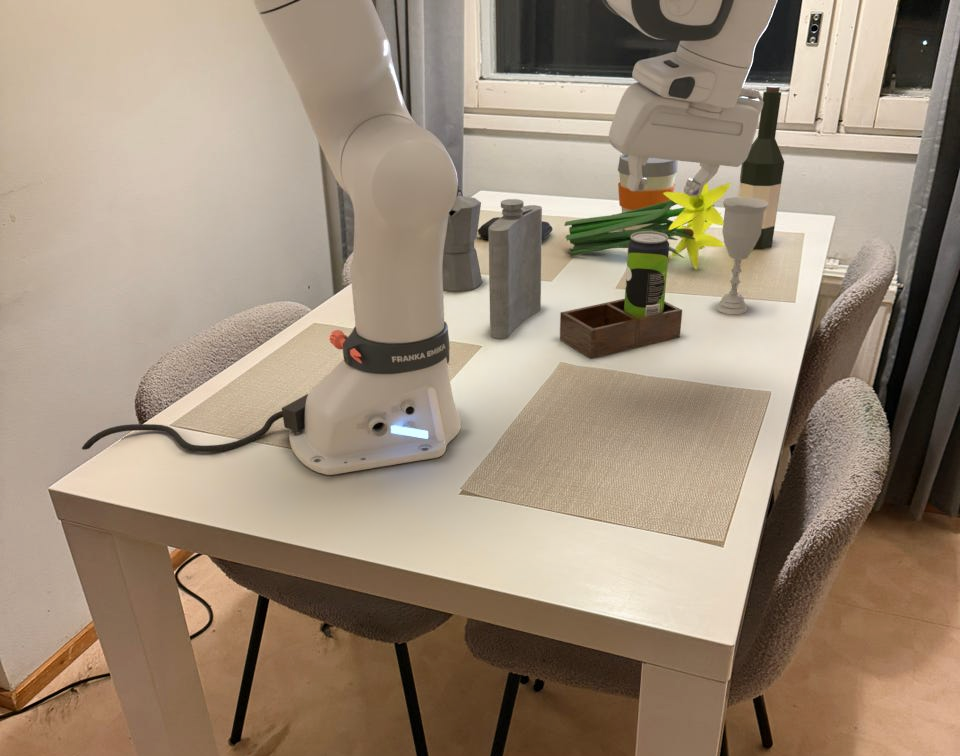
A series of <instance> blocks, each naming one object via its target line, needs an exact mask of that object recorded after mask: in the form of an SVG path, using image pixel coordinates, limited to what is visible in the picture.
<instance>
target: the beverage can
mask: <svg viewBox="0 0 960 756" xmlns="http://www.w3.org/2000/svg"><path fill="white" fill-rule="evenodd" d="M669 246H670V242H669V239H668V236H667V235H666V234H664V233H660V232H654V231H642V232H636V233H633V234H632V235H631V240H630V241H629V243H628V248H627V259H626V274H625V289H624V299H625V303H624V312H626V313H628V314H630V315H632V316H634V317H636V318H641V317H645V316H650V315H654V314H658V313H663V311H664V301H666V288H667V277H668V267H669V266H668V265H669V256H670V255H669V253H670V251H669Z"/></svg>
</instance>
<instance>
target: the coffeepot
mask: <svg viewBox="0 0 960 756" xmlns="http://www.w3.org/2000/svg"><path fill="white" fill-rule="evenodd" d="M481 206H482V202H481V201H480V200H478V198H476V197H471V196H464V195H463V192H462V190H460V186H459V185H458V190H457V196H456V200H455V202H454V205H453V207H452V209H451V211H450V212H449V217H448V224H447V231H446V238H445V244H444V252H443V265H442V277H443V292H444V291H445V292H453V293H456V292H457V293H461V292H467V291H472V290H474V289H477V288H479V287H480V286H481V284H483V279H482V274H481V268H480V263H479V258H478V252H477V250H476V247H475V241H476V240H477V239H478V229H479V223H480V217H481V216H480V215H481V208H482V207H481Z"/></svg>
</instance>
